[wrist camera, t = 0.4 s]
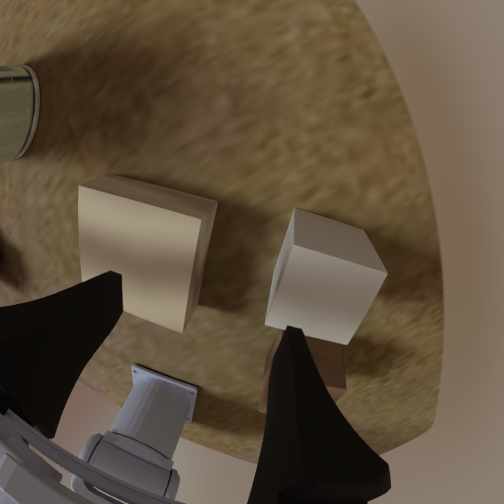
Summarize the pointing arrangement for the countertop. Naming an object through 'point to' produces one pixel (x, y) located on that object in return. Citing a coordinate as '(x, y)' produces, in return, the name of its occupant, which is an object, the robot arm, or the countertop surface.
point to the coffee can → (17, 110)
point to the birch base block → (146, 244)
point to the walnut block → (326, 362)
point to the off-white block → (324, 278)
